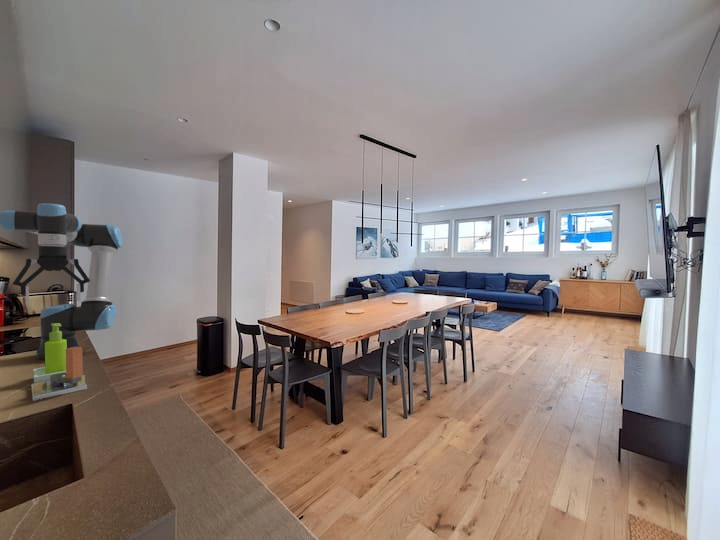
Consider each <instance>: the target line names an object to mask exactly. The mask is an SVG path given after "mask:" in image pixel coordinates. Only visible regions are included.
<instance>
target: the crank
mask: <svg viewBox="0 0 720 540" xmlns="http://www.w3.org/2000/svg"><path fill="white" fill-rule="evenodd" d="M83 364H84V363H83V347H82V346H81V347H72V348H68V349H66V373H58V374H54V375H51V376H50V386H59V385H63V384H66V383H69V384H74V383H77V382H79V381H82V377H81V376H83V375H84V370H83V368H84V366H83Z"/></svg>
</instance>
